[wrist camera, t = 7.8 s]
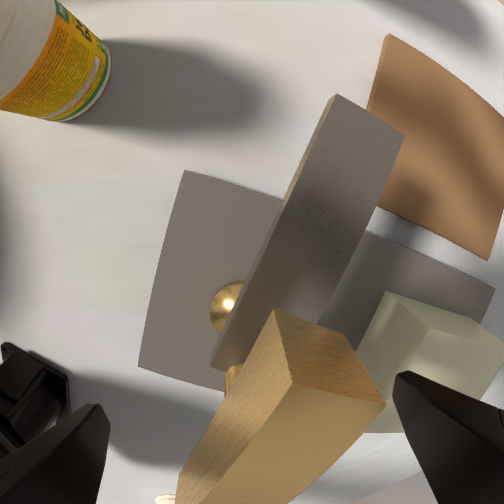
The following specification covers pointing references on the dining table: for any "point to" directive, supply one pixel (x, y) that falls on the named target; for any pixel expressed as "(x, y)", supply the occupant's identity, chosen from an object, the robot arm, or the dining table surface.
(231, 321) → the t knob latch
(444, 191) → the walnut mat
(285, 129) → the dining table surface
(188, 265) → the base
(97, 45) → the supplement bottle
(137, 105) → the dining table surface
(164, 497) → the chess piece
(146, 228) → the dining table surface
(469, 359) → the cover
